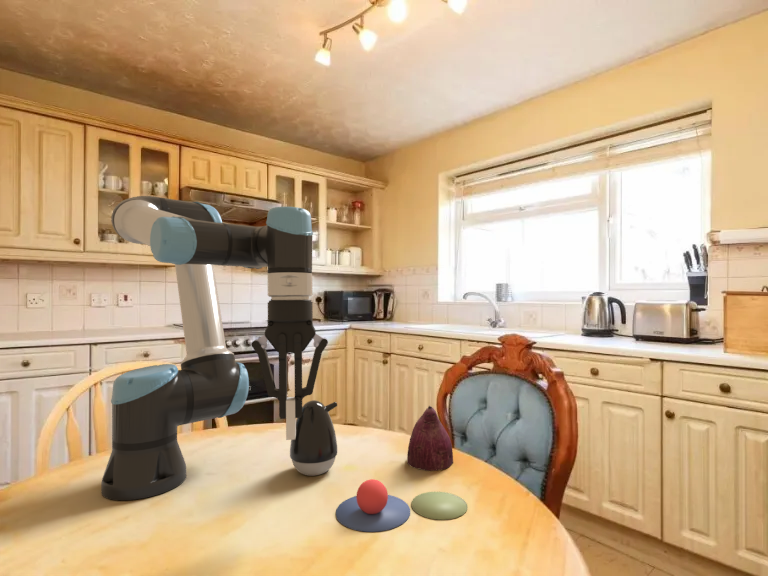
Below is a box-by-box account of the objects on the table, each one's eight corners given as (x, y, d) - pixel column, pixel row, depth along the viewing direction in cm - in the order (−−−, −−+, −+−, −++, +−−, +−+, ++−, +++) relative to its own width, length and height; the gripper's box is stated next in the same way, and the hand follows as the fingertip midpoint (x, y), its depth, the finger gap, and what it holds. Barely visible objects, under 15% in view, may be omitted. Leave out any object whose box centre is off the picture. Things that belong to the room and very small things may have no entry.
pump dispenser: (344, 475, 90) (343, 403, 91) (294, 484, 87) (294, 408, 87) (331, 459, 100) (331, 393, 100) (286, 465, 96) (286, 397, 96)
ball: (364, 525, 72) (354, 495, 72) (360, 509, 77) (350, 481, 77) (394, 512, 73) (384, 482, 73) (388, 497, 78) (379, 469, 78)
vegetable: (450, 486, 92) (457, 424, 88) (402, 476, 94) (408, 415, 91) (453, 456, 102) (460, 400, 98) (410, 448, 104) (416, 392, 101)
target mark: (338, 535, 68) (338, 534, 68) (333, 497, 81) (333, 496, 81) (418, 527, 70) (418, 526, 70) (401, 491, 83) (401, 490, 83)
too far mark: (419, 522, 72) (419, 521, 72) (406, 495, 81) (406, 494, 81) (476, 516, 73) (476, 515, 73) (456, 490, 83) (456, 489, 83)
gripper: (247, 299, 69) (248, 447, 68) (329, 298, 71) (330, 441, 71) (253, 299, 76) (254, 432, 76) (327, 298, 78) (328, 428, 78)
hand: (291, 436), depth 73 cm, fingers closed
